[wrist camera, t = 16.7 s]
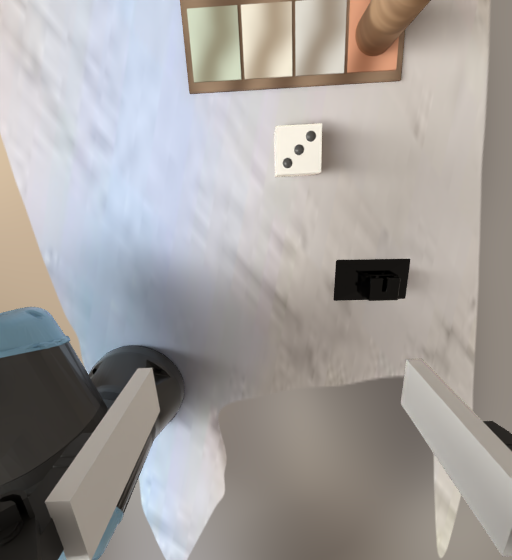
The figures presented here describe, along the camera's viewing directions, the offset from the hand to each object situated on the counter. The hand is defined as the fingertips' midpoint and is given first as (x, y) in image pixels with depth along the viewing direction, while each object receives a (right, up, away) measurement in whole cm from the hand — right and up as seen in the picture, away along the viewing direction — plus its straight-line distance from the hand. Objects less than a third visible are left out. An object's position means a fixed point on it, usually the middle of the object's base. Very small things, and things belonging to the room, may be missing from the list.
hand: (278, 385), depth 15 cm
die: (+4, +22, +21) cm, 30 cm away
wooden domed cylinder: (+12, +33, +17) cm, 39 cm away
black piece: (+16, +6, +27) cm, 32 cm away
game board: (+3, +33, +18) cm, 37 cm away
